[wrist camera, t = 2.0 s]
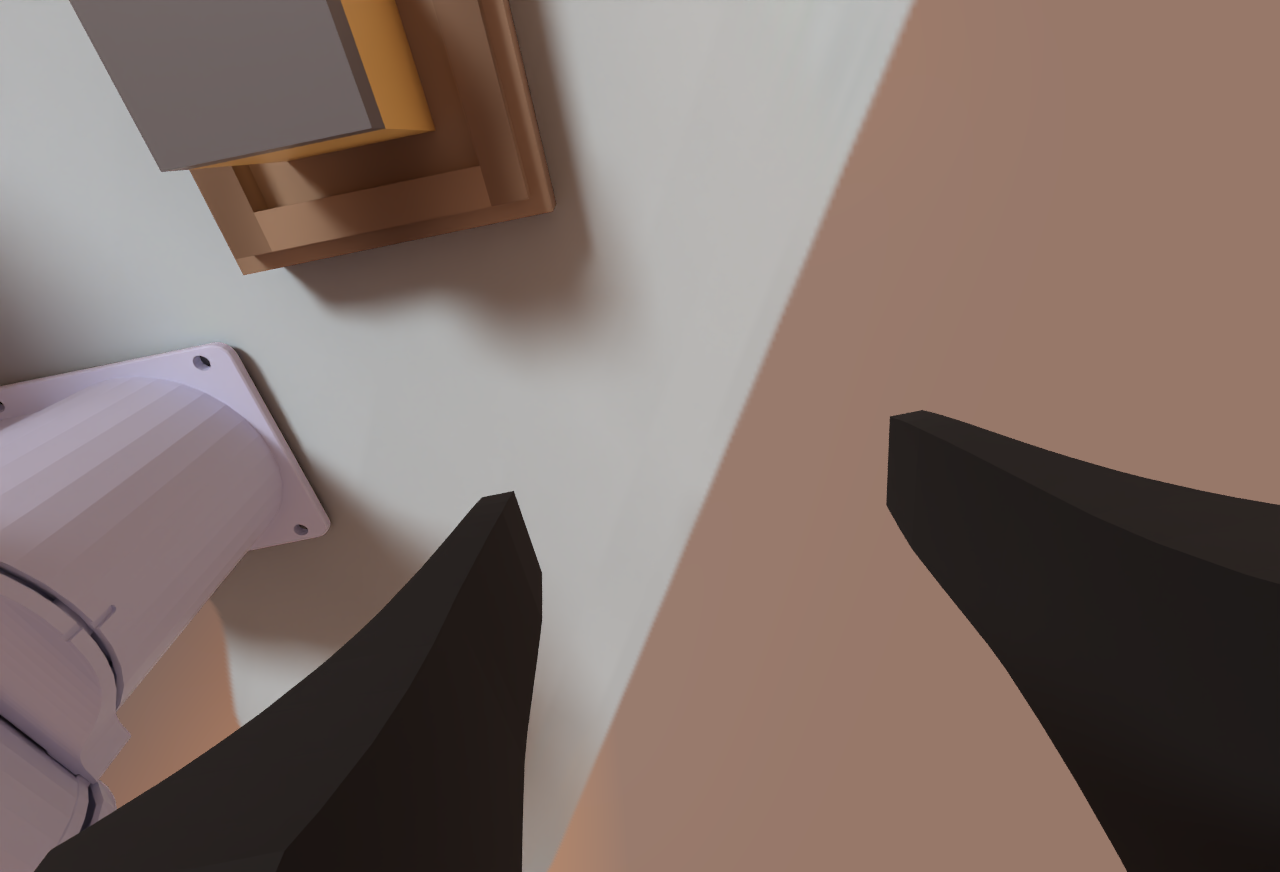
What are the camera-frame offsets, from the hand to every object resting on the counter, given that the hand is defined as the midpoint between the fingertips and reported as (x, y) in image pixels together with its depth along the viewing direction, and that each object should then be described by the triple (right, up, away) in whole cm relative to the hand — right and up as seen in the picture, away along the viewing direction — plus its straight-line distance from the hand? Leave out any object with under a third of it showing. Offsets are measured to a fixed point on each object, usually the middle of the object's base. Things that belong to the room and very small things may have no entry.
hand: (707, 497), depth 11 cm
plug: (-9, +11, +3) cm, 14 cm away
